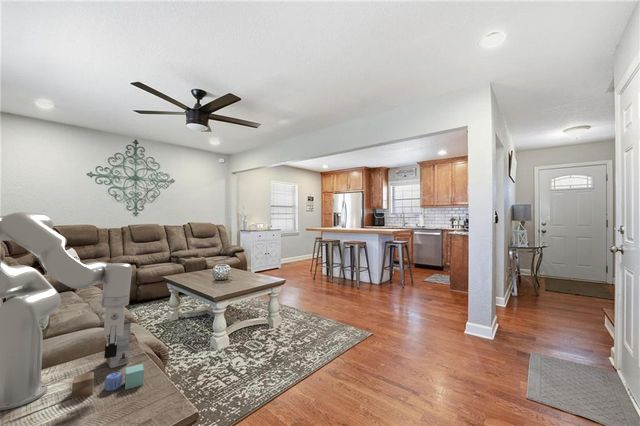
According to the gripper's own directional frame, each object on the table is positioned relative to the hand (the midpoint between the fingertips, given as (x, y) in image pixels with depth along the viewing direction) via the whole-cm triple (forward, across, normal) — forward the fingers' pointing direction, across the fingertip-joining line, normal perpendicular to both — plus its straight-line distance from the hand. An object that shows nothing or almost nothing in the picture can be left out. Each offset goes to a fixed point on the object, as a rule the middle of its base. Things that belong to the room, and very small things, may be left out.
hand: (110, 356), depth 93 cm
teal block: (+10, -2, -7) cm, 12 cm away
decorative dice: (+10, -1, -2) cm, 10 cm away
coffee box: (+11, +20, -3) cm, 23 cm away
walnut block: (+11, +1, +6) cm, 12 cm away
